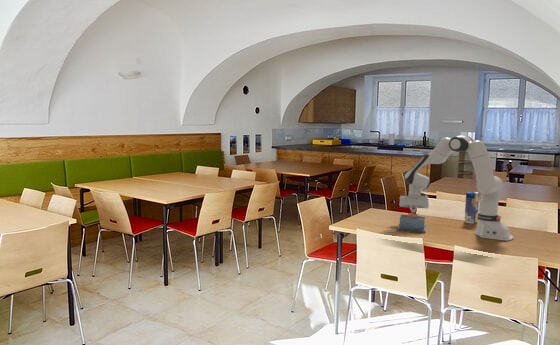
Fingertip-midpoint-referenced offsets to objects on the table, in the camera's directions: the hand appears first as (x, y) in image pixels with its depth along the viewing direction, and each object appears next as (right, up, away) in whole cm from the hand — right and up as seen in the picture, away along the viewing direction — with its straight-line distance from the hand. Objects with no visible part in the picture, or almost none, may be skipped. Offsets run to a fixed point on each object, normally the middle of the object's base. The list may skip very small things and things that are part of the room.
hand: (413, 211), depth 306 cm
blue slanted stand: (-3, -11, -8) cm, 14 cm away
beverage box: (+48, -9, +16) cm, 52 cm away
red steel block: (-4, -10, -9) cm, 14 cm away
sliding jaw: (-3, -9, -6) cm, 11 cm away
